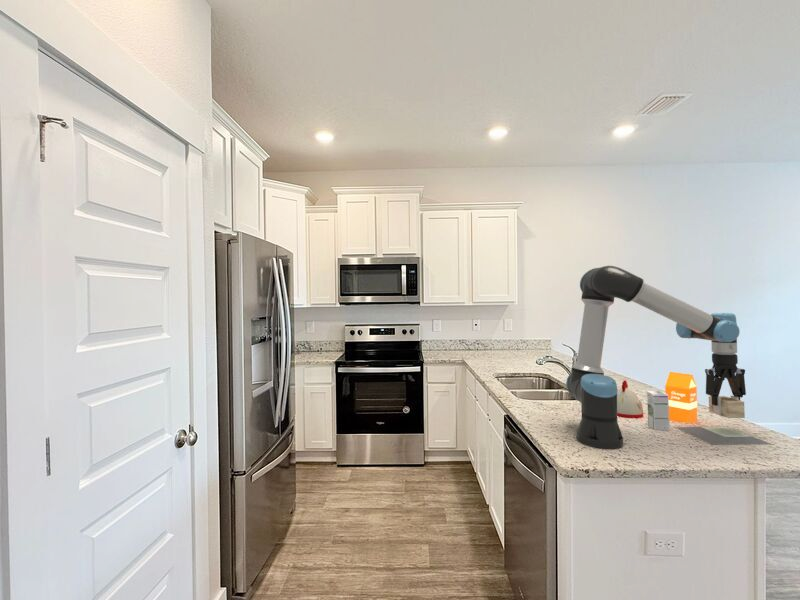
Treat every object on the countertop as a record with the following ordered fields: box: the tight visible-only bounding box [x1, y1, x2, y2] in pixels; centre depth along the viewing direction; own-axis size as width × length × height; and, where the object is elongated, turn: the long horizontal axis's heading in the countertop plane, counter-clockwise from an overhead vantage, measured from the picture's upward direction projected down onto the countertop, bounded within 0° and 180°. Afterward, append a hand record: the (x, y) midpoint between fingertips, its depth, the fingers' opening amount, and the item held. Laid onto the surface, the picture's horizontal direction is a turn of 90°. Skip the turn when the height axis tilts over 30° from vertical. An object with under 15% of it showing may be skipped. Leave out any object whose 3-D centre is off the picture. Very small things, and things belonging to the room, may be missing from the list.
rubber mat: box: [673, 426, 772, 446], centre depth 144 cm, size 21×19×1 cm
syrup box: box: [646, 390, 671, 431], centre depth 153 cm, size 6×6×14 cm
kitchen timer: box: [617, 379, 644, 419], centre depth 174 cm, size 14×14×15 cm
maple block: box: [708, 395, 746, 419], centre depth 147 cm, size 9×6×6 cm, turn 0°
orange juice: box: [664, 371, 698, 424], centre depth 164 cm, size 8×9×20 cm
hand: (726, 413), depth 147 cm, fingers closed on maple block, 6 cm apart
